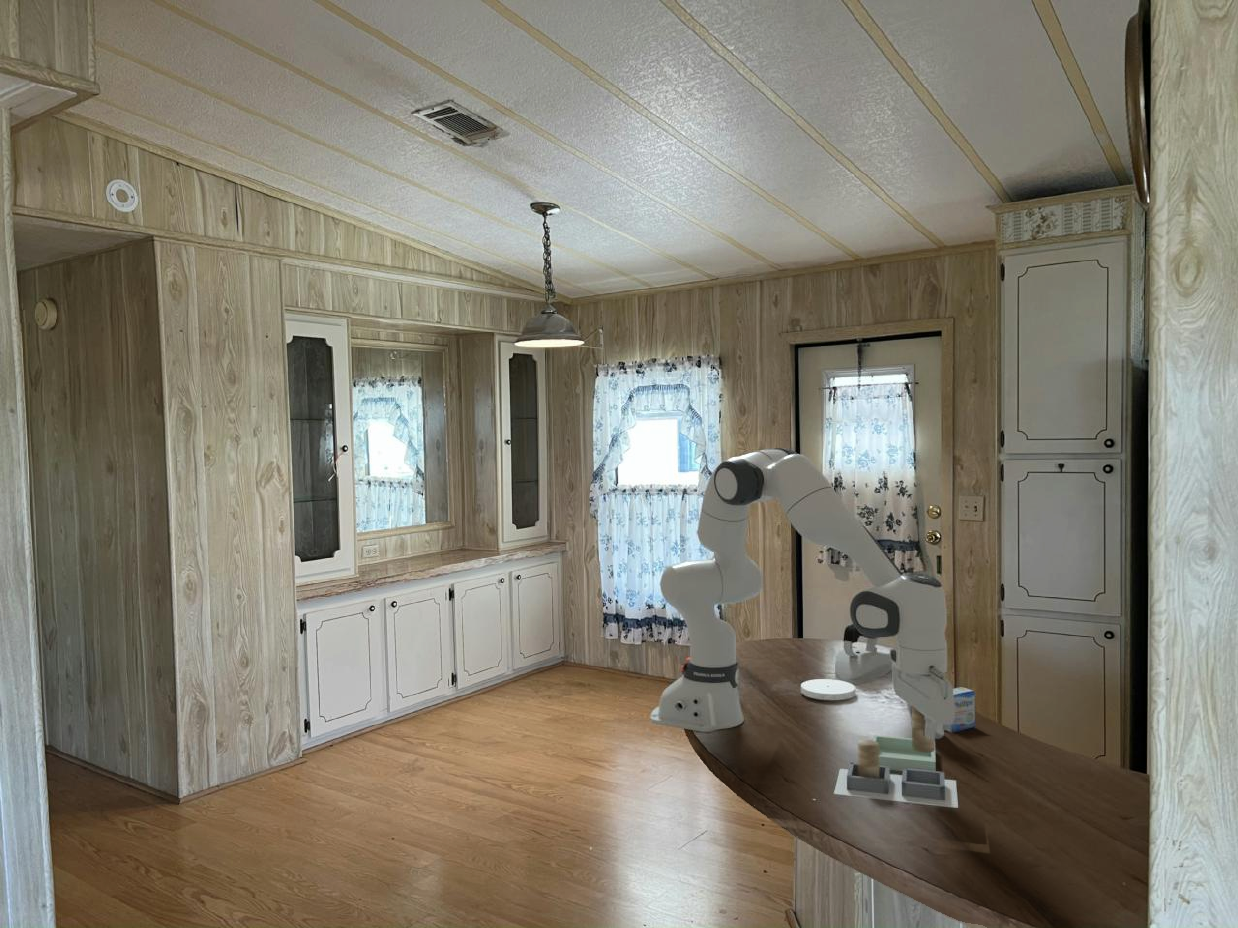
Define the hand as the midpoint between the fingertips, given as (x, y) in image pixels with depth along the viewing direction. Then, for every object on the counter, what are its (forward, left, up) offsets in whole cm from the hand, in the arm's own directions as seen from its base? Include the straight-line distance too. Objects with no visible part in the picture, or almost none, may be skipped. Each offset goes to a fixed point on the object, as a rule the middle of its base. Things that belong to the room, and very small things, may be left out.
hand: (923, 732), depth 169 cm
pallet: (-5, 0, -12) cm, 13 cm away
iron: (-16, +82, -13) cm, 85 cm away
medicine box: (+7, +42, -12) cm, 45 cm away
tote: (-4, +15, -12) cm, 20 cm away
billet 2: (0, 0, -3) cm, 3 cm away
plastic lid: (-24, +60, -13) cm, 66 cm away
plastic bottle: (+1, +32, -12) cm, 34 cm away
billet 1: (-10, 0, -11) cm, 15 cm away
